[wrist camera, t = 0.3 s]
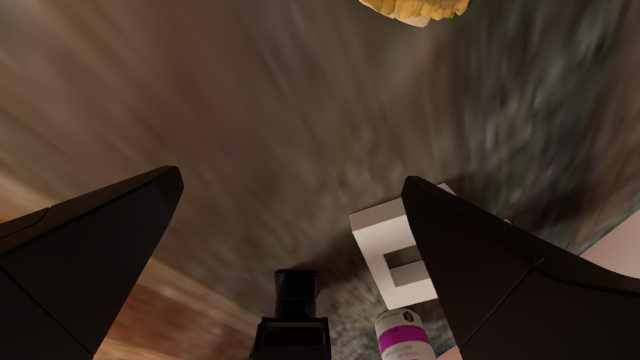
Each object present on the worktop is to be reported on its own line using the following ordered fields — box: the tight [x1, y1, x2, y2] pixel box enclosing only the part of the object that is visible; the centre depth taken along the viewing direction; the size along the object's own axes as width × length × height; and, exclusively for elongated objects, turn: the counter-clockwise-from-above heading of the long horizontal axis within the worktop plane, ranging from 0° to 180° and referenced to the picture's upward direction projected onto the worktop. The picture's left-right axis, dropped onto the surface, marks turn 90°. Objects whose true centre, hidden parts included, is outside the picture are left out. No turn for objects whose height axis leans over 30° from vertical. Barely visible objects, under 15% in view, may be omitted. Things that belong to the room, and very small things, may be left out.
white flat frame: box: [349, 183, 455, 310], centre depth 31 cm, size 12×18×3 cm, turn 22°
